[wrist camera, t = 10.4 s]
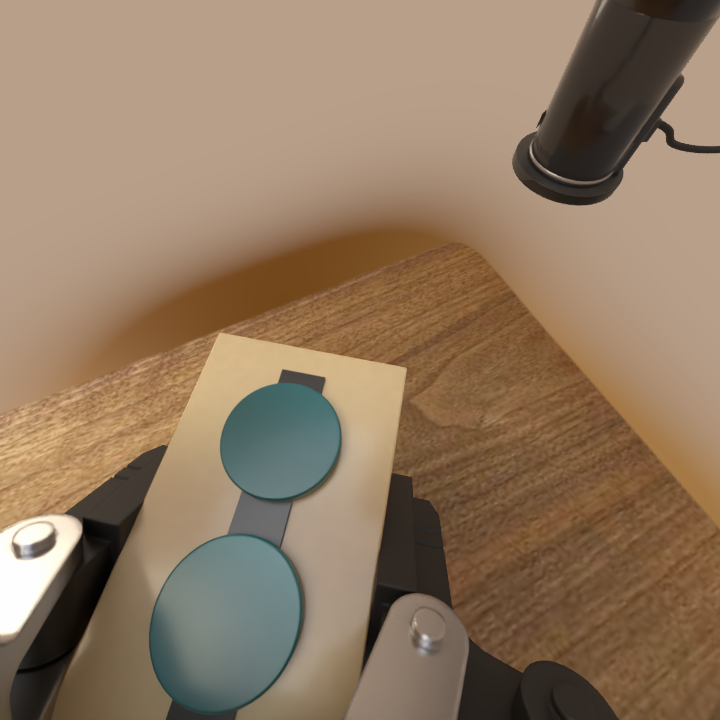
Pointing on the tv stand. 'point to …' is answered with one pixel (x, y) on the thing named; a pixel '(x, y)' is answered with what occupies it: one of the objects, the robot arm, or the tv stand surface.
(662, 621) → the tv stand surface
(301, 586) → the holder
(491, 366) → the tv stand surface
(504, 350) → the tv stand surface
